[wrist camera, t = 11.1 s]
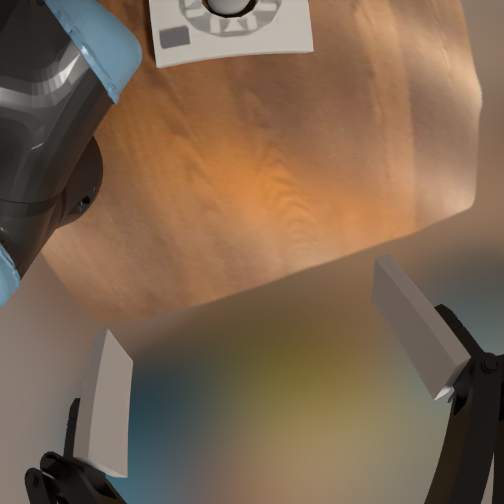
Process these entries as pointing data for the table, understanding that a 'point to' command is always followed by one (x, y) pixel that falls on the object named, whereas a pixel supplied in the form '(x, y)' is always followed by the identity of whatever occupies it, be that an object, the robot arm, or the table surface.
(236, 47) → the socket plate
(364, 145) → the table surface
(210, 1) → the beverage can
